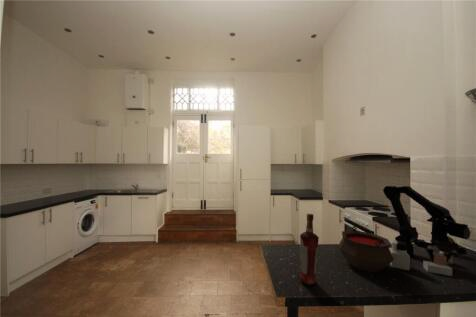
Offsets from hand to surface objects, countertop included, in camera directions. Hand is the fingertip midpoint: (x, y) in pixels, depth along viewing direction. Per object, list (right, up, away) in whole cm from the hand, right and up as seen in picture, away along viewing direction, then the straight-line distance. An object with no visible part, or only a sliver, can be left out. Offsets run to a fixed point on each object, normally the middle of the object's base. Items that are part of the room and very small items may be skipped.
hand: (438, 263), depth 106 cm
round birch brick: (+9, -2, +5) cm, 10 cm away
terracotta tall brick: (0, -2, 0) cm, 2 cm away
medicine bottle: (-22, -1, -1) cm, 22 cm away
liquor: (-73, +2, -19) cm, 75 cm away
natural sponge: (+21, -3, +19) cm, 29 cm away
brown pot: (-39, 0, -2) cm, 39 cm away
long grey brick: (-6, -2, -6) cm, 8 cm away
